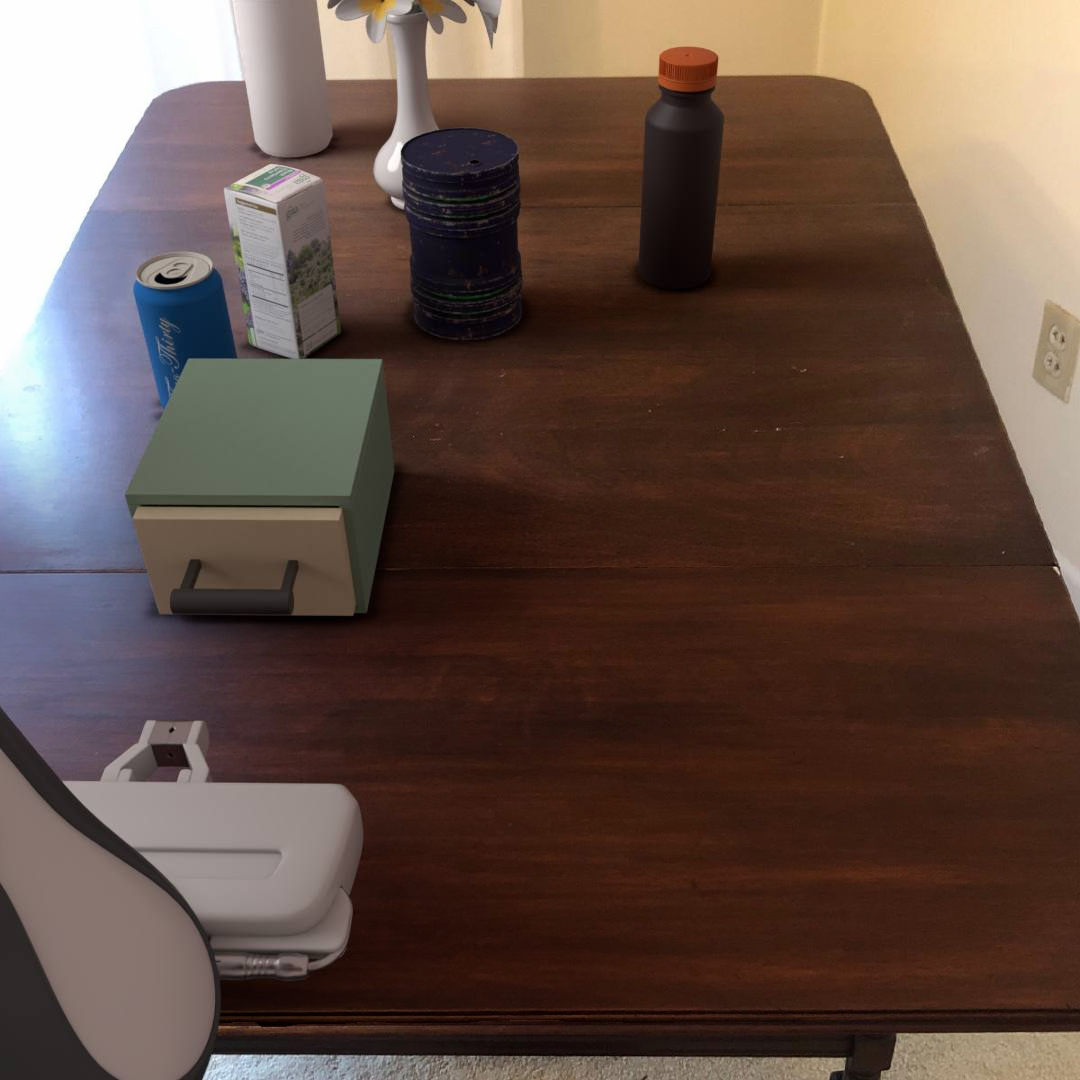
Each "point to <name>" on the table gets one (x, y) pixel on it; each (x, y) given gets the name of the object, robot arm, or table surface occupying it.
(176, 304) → the beverage can
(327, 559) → the drawer
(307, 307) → the syrup box
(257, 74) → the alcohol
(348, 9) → the flower vase
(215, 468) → the cabinet
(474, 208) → the dark blue cylinder
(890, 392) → the table surface
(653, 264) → the bottle
